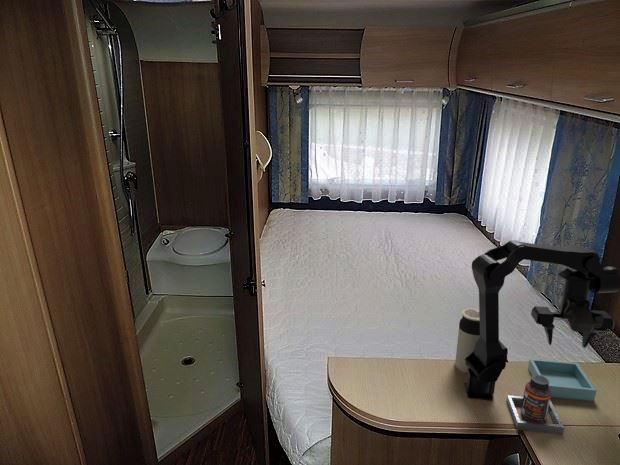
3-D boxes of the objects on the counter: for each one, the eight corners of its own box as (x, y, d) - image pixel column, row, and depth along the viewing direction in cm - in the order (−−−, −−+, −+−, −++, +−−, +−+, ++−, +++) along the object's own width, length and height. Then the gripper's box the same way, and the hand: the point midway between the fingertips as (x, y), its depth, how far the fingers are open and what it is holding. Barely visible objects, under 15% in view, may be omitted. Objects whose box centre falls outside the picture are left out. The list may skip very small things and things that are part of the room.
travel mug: (464, 377, 130) (471, 321, 125) (449, 362, 138) (455, 309, 132) (488, 372, 132) (495, 318, 127) (472, 358, 140) (478, 306, 134)
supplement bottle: (520, 421, 113) (526, 382, 109) (520, 406, 118) (526, 369, 114) (546, 428, 110) (553, 389, 107) (545, 413, 115) (552, 375, 112)
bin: (541, 397, 121) (543, 385, 120) (527, 370, 133) (529, 358, 132) (593, 403, 119) (596, 390, 118) (574, 374, 131) (577, 362, 130)
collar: (516, 429, 110) (517, 422, 109) (506, 401, 120) (507, 395, 119) (563, 434, 108) (564, 427, 107) (548, 405, 118) (549, 399, 117)
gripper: (547, 304, 111) (538, 358, 116) (630, 309, 108) (617, 365, 113) (534, 286, 122) (526, 336, 127) (609, 290, 119) (599, 342, 123)
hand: (566, 345), depth 122 cm, fingers open, 8 cm apart
